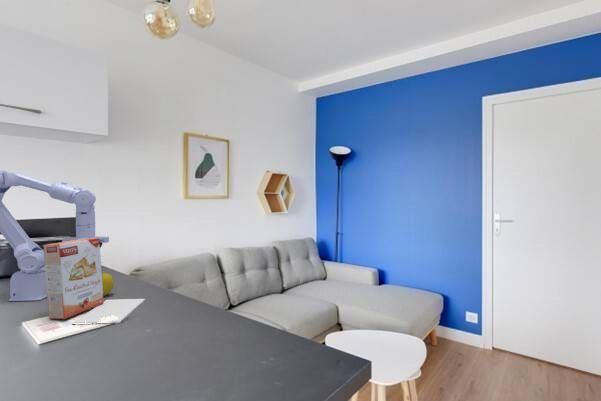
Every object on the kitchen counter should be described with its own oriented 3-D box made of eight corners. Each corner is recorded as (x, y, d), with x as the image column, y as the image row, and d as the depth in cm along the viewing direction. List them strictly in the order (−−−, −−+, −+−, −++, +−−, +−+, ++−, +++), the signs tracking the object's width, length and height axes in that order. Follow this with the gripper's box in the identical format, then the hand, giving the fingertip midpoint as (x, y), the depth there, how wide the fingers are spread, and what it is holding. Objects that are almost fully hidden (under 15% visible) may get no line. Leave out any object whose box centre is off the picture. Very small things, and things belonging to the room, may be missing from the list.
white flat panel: (72, 324, 89) (72, 323, 89) (106, 301, 109) (106, 299, 109) (119, 323, 91) (119, 321, 91) (145, 300, 111) (145, 298, 111)
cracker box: (66, 319, 91) (59, 243, 91) (47, 320, 93) (41, 244, 92) (105, 303, 105) (100, 236, 105) (89, 303, 106) (83, 238, 106)
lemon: (107, 298, 112) (107, 274, 112) (91, 298, 112) (91, 274, 112) (117, 293, 117) (117, 271, 117) (101, 293, 118) (101, 270, 117)
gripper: (56, 226, 113) (57, 266, 113) (102, 225, 114) (102, 265, 115) (68, 224, 120) (69, 262, 120) (111, 223, 121) (112, 261, 122)
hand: (86, 263), depth 118 cm, fingers open, 4 cm apart
